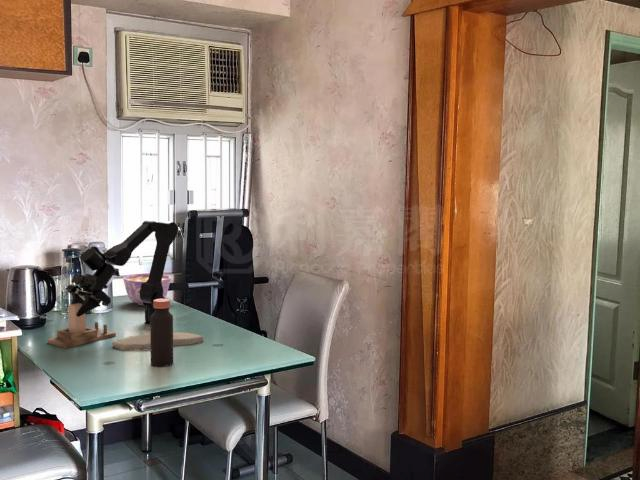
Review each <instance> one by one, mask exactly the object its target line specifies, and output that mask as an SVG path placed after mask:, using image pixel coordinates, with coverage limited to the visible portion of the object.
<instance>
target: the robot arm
mask: <svg viewBox="0 0 640 480" xmlns="http://www.w3.org/2000/svg"><path fill="white" fill-rule="evenodd" d="M152 233H154V237H155V241H156V245H155V249H154V253H153V257H152V262H151V267H150V271H149V273H148V274H149V278H148V280H147V281H146V283H142V284H141V289H140V291H139V293H140V299H141V301H142V303H143V305H142V306H144V307H145V311H144V324H146V325H150V317H151V315H152V314H153V313H154V312H155V310H154V307H153V300H155V299H166V297H165V298H164V297H163V286H162V283H161V281H162V277H163V274H164V271H165V267H166V264H167V258H168V256H169V255H168V254H169V250H170V246H171V245H172V244H173V242H174V241H175V240H176V238H177V236H178V233H179V226H178V225H177V223H176V222H174V221H166V220H165V221H164V220H160V221H158V222H157V221H155V220H144V221H143V222H142V223H141V225H139V226H138V228H136V229H135V230H134V231H133V232H132V233H131V234H130V235H129V236H128V237H127V238H126V239H125V240H124V241H121V243H118V244H116V245H113V246H111V247H110V248H108V249H107V250H106V252H103V253H102V252H101V251H100V249H99V248H98V247H97V246H94V245H92V246H91V247H90V248H87V249H86V250H85V251H83V252H82V253H81V255H80V256H79V257H80V261H81V262H82V263H83V264H84V265H85V266H86V267H87V268H88V269H89V270H91V271H94V273H93V274H90V273H86V274H81V273H80V274H79V273H73V276H72V279H71V283H73V284H68V285H67V286H66V288H65V291H66V292H68V293H69V294H70V295H71V297H72V301H71V304H77V303H80V304H82V306H81V308H80V309H79V311H78V313H77V314H76V315H77V316H78V317H79V316H81V315H83V314H85V313H89V311H90V310H91V311H92V309H93V310H94V309H96V308H98V307H101V305H102V306H104V307H109V306H110V304H111V301H112V299H111V297H110V296H109V295H108V294H107V293H106V292H105V291H103V290H106V289H108V287H109V286H108V285H107V284H108V283H109V282H110V281H111V279H112V278H113V277H120V269H119V268H117V266H118V267H123V266H125V265H126V264H127V263H128V262H129V260H130V259H131V257H132V253H133V252H134V251H135V250H136V248H138V247H139V246H140V245H141V244H142V243H143V242H144V241H145V240H146V239H147V238H149V237H150V236H151V235H152ZM114 266H116V267H114ZM84 298H85V301H84V300H83V299H84ZM91 311H90V312H91Z"/></svg>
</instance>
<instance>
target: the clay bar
mask: <svg viewBox="0 0 640 480" xmlns="http://www.w3.org/2000/svg"><path fill="white" fill-rule="evenodd" d="M81 306H82V304H80V303H77V304H72V303H70V304H68V305H67V309H68V310H67V315H68V320H67V321H68V328H69V332H70V333H73V334H75V333H80V332H84V331H86V327H87V322H86V321H87V319H86V318H87V316H86V313H85V314H83V315H81V316H79V317H78V316H77V315H76V314H77V313H78V311H79V309H80V308H81Z"/></svg>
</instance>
